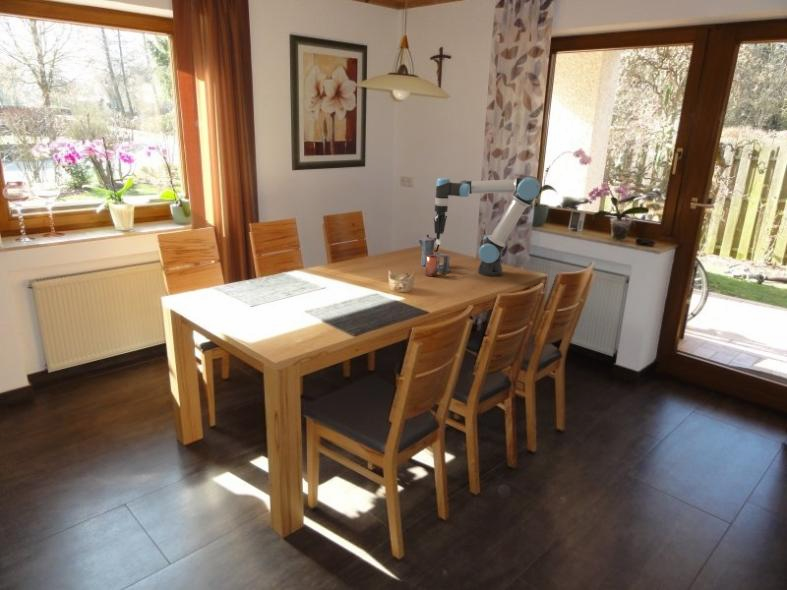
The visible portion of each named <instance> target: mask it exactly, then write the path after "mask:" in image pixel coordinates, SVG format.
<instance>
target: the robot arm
mask: <svg viewBox="0 0 787 590" xmlns="http://www.w3.org/2000/svg"><path fill="white" fill-rule="evenodd" d="M541 185H542V184H541V182H540V180H539V178H537V177H535V176H532V175H529V176H524V177H523V176H522V177H516V178H515V179H491V180H489V179H488V180H460V182H451V181H450V179H449V178H447V177H439V178H437V179H436V185H435V199H434V200H435V201H434V203H435V204H434V212H436V214H435V217H433V221H434V223H433V224H434V234H436V237H435V238H436V241H435V245H437V246H438V245H439V246H440V245H442V238H443V237H442V236H443V234H444V232H445V229H446V221H447V218H448V216H447V215H446V213H447V212H448V206H449V196H450V197H460V198H461V197H462V198H463V197H464V198H468V197H469V196H470V195H471V194H472V195H473V194H512V201H511V202H510V204H509V206H508V207H507V209H506V210H505V211H504V213H503V215H502V217H501V219H500V220H499V221H498V223H497V225H496V227H495V229H494V230H493V232H492V233H491V234H489V235H484V237H483V239H482V241H483V242H482V245H481V246H480V247H479V248H478V257H479V259H480V260H481V262H480V263H479V265H478V268H477V272H478V274H479V275H482V276H486V277H499V276H502V275H503V274H504V270H503V265H502V256H503V255H502V253H503V250H504V248H505V247H506V244H505V242H506V241H507V239H508V237H510V236H509V235H510V234H511V232H512V231H513V229H514V228H515V226H516V225H517V223H518V221H519V219H520V218H521V217H522V214H523V213H524V211H526V209H527V207H531V205H532V204H533V202H534V201H535V199H536V197H537V196H539V193H540V190H541V187H542V186H541Z"/></svg>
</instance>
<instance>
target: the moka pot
mask: <svg viewBox="0 0 787 590" xmlns="http://www.w3.org/2000/svg"><path fill="white" fill-rule="evenodd" d="M429 236H430V234H426V237H421V238H419V239H418V240H417V242H419V244H420V247H421V260H420V266H422V267H423V268H424V267H425V268H426V256H427V255H428V254H429V255H433V254H434V253H438V252H439V251H438V250H439V248H440V245H438V244H437V246H436V249H435V244H436V237H429Z"/></svg>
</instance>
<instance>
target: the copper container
mask: <svg viewBox="0 0 787 590" xmlns="http://www.w3.org/2000/svg"><path fill="white" fill-rule="evenodd" d="M443 264H444V261H443V262H439V264H438V256H436V254H435V253H433V255H429V254H428V255H427V256H426V267H425V276H428V277H436V276H437V275H438V272H437V268H440V267H443Z"/></svg>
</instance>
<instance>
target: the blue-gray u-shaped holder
mask: <svg viewBox="0 0 787 590" xmlns="http://www.w3.org/2000/svg"><path fill="white" fill-rule="evenodd" d="M434 254H436V256H438V264H439V263H440V258H442V259H443V262H444V264H443V266H442V267H440V268H437V273H443V274H447V273H451V269H450V258H451V256H450V254H445V253H441V252H434Z"/></svg>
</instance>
